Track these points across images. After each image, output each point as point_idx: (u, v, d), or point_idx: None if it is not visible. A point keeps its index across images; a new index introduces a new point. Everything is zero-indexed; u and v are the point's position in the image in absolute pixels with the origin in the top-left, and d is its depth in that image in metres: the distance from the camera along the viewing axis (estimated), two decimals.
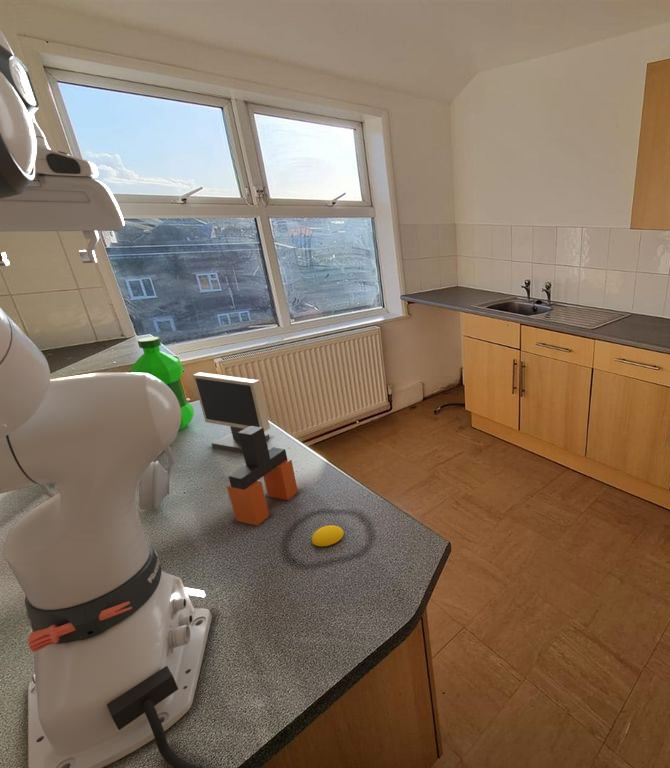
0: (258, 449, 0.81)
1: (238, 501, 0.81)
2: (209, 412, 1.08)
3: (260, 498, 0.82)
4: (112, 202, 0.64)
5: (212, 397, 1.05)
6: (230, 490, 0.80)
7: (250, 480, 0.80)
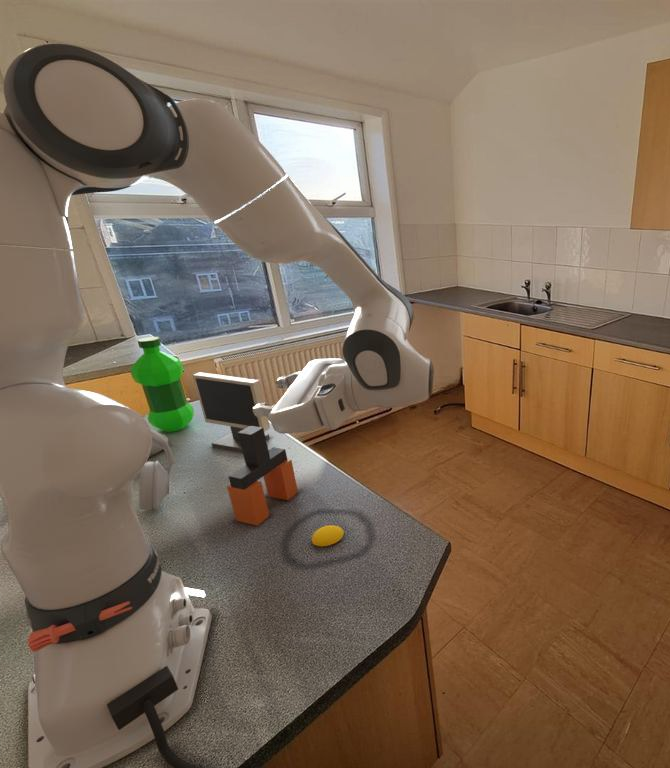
0: (258, 449, 0.81)
1: (238, 501, 0.81)
2: (209, 412, 1.08)
3: (260, 498, 0.82)
4: (291, 411, 0.68)
5: (212, 397, 1.05)
6: (230, 490, 0.80)
7: (250, 480, 0.80)
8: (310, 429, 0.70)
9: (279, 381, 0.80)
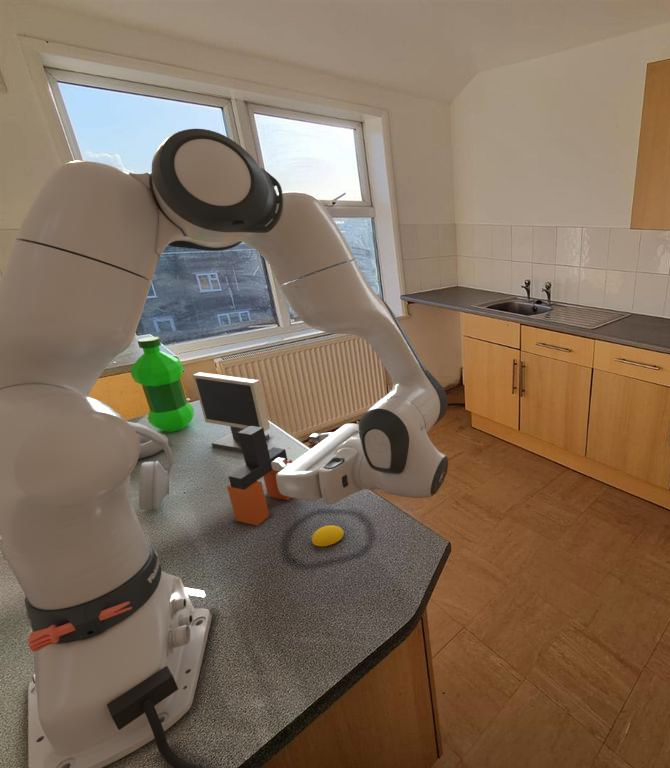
0: (258, 449, 0.81)
1: (238, 501, 0.81)
2: (209, 412, 1.08)
3: (260, 498, 0.82)
4: (294, 477, 0.68)
5: (212, 397, 1.05)
6: (230, 490, 0.80)
7: (250, 480, 0.80)
8: (308, 498, 0.69)
9: (311, 437, 0.83)
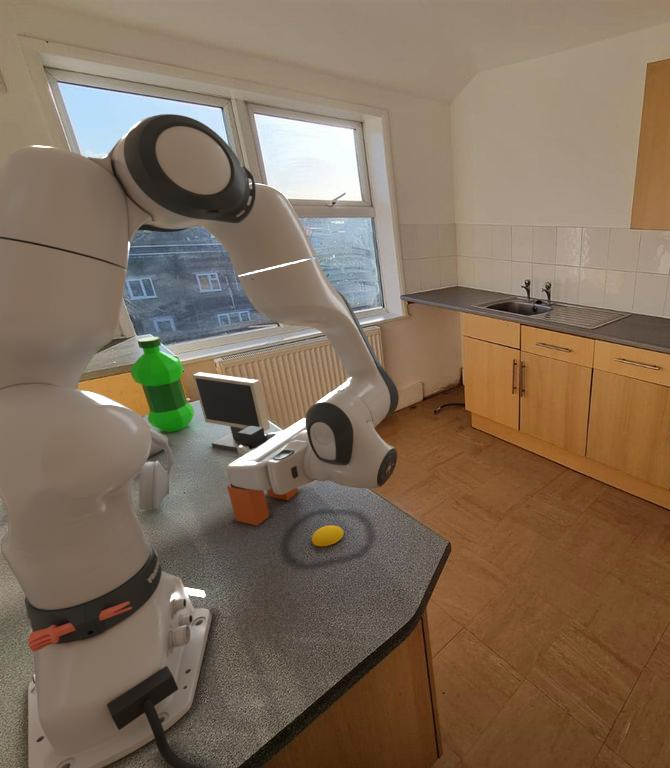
0: None
1: (238, 501, 0.81)
2: (209, 412, 1.08)
3: (260, 498, 0.82)
4: (243, 468, 0.71)
5: (212, 397, 1.05)
6: (230, 490, 0.80)
7: None
8: (258, 489, 0.72)
9: None
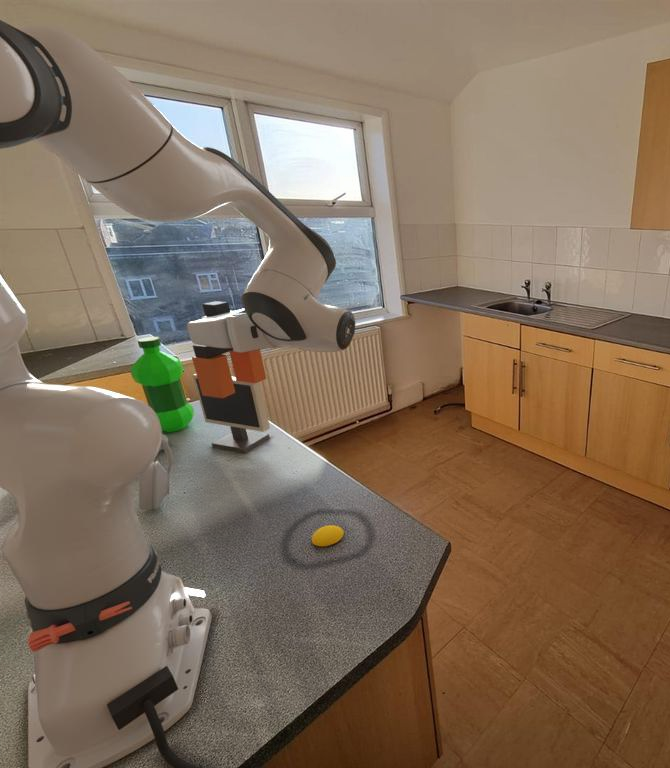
0: None
1: (203, 373, 0.82)
2: (209, 412, 1.08)
3: (225, 371, 0.83)
4: (202, 323, 0.72)
5: (212, 397, 1.05)
6: (195, 361, 0.82)
7: (214, 351, 0.82)
8: (218, 345, 0.73)
9: None
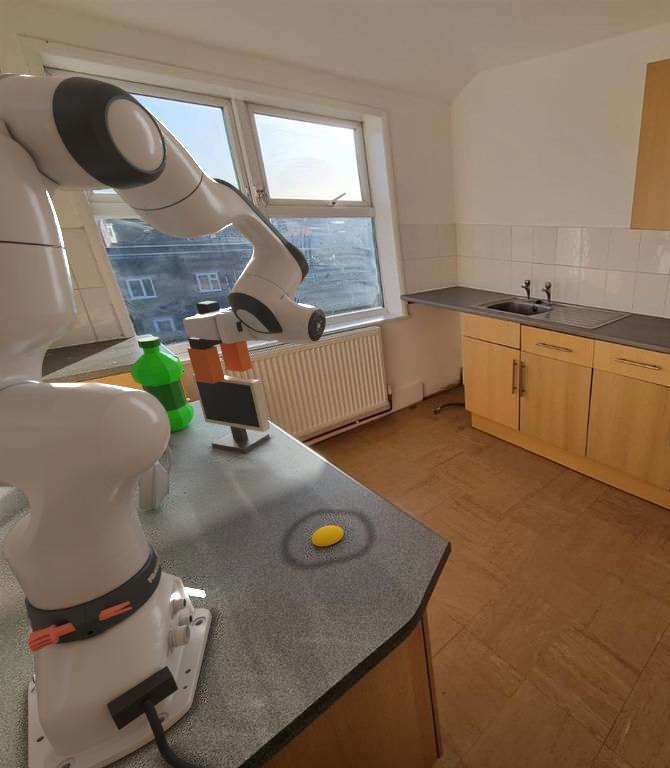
0: None
1: (197, 362, 0.96)
2: (209, 412, 1.08)
3: (216, 361, 0.98)
4: (196, 319, 0.86)
5: (212, 397, 1.05)
6: (190, 352, 0.96)
7: (206, 343, 0.96)
8: (209, 338, 0.88)
9: None
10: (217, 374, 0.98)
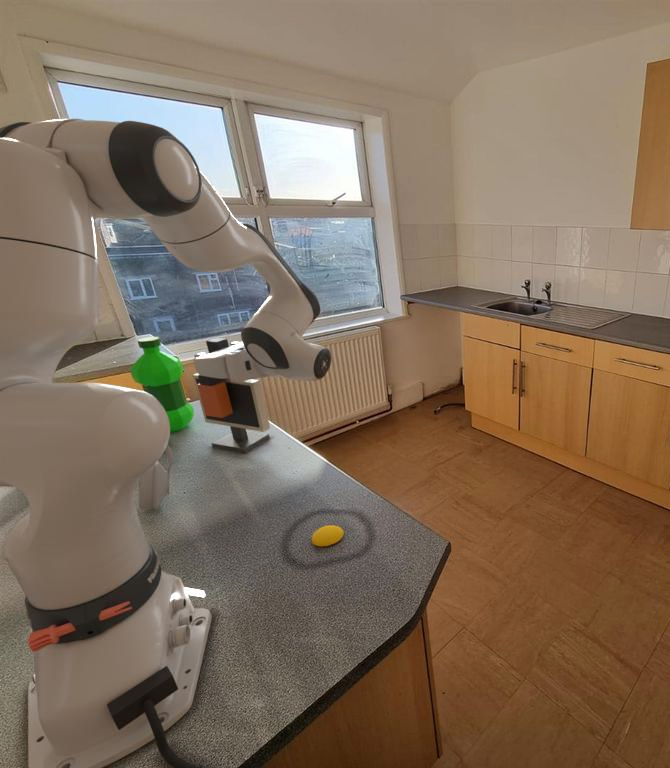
0: None
1: (206, 397, 1.00)
2: None
3: (224, 396, 1.01)
4: (206, 359, 0.90)
5: None
6: (200, 388, 0.99)
7: (216, 379, 0.99)
8: (218, 377, 0.91)
9: (232, 344, 1.04)
10: (225, 408, 1.02)
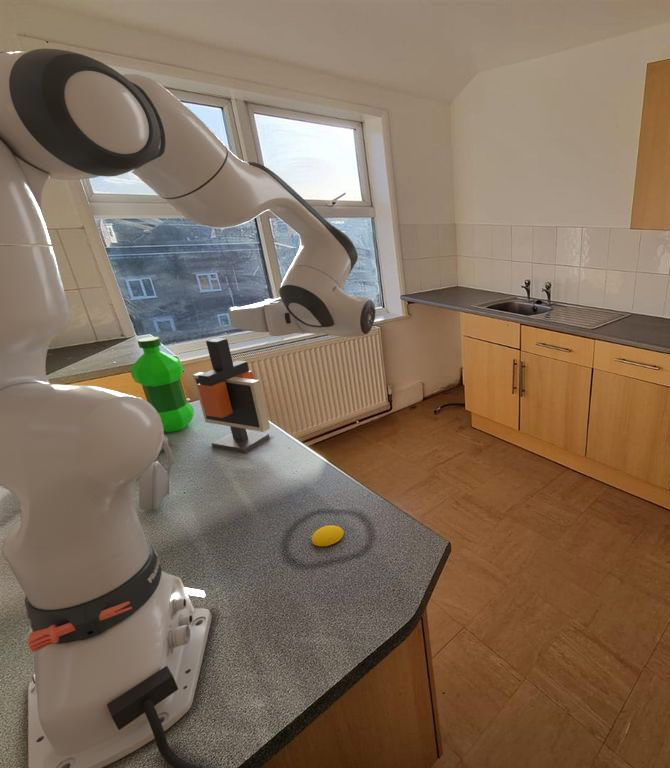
0: (222, 355, 1.00)
1: (206, 397, 1.00)
2: None
3: (224, 396, 1.01)
4: (243, 309, 0.82)
5: None
6: (200, 388, 0.99)
7: (216, 379, 0.99)
8: (256, 330, 0.84)
9: (265, 301, 0.97)
10: (225, 408, 1.02)
